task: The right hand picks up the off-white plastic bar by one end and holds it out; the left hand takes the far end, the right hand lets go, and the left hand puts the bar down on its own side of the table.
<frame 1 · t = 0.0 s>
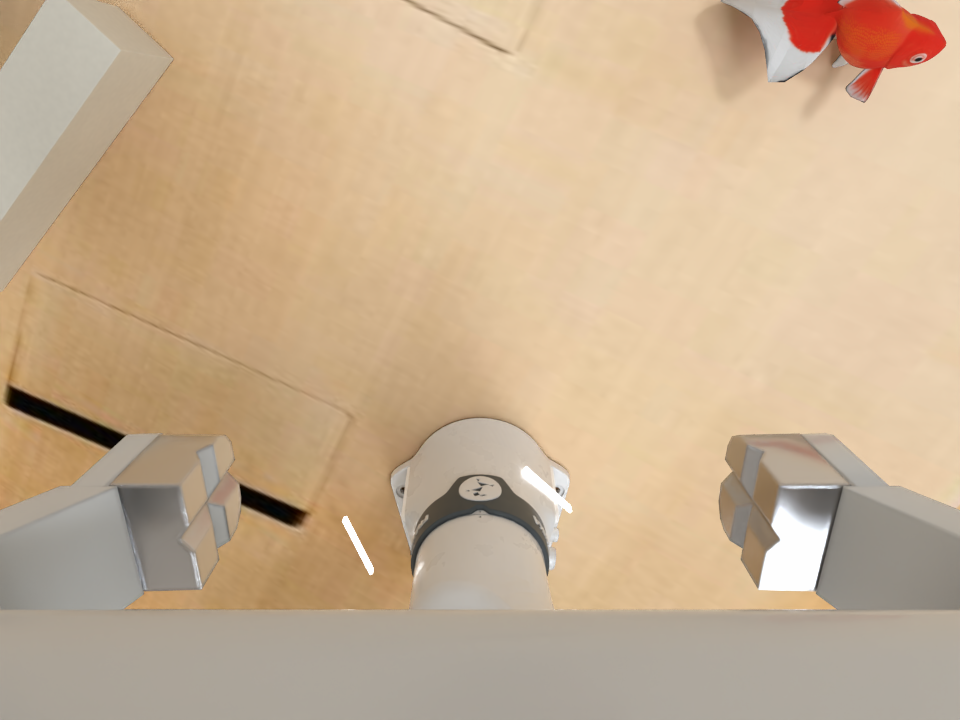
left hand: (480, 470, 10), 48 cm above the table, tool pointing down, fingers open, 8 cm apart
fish: (800, 32, 51), on the table
bar: (55, 160, 54), on the table
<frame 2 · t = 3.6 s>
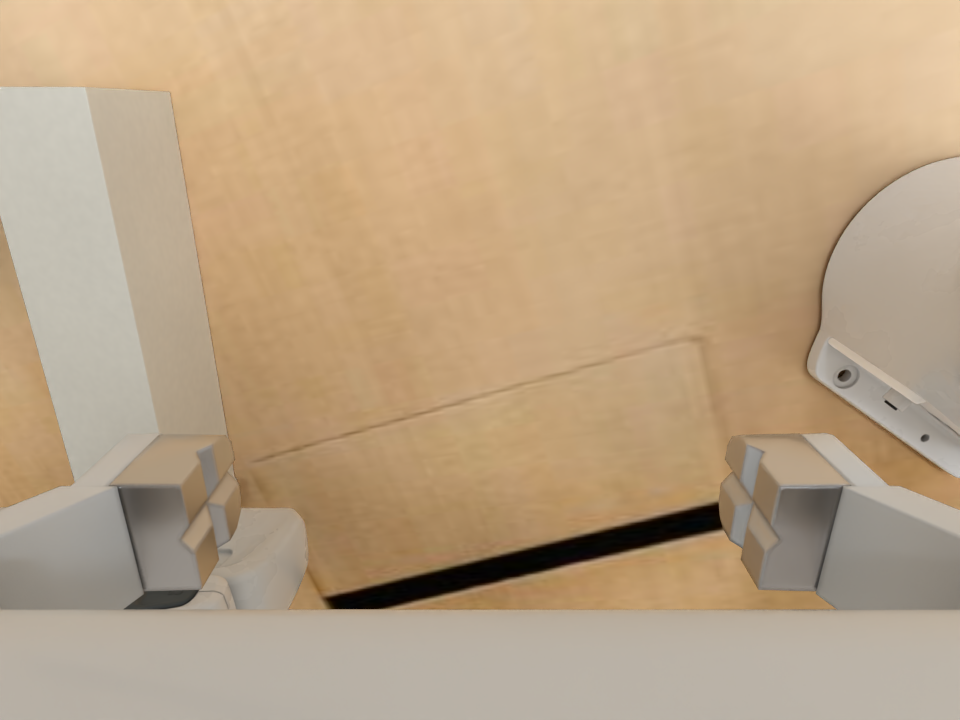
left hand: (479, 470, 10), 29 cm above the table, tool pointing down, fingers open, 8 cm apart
bar: (168, 326, 40), on the table, touching right hand
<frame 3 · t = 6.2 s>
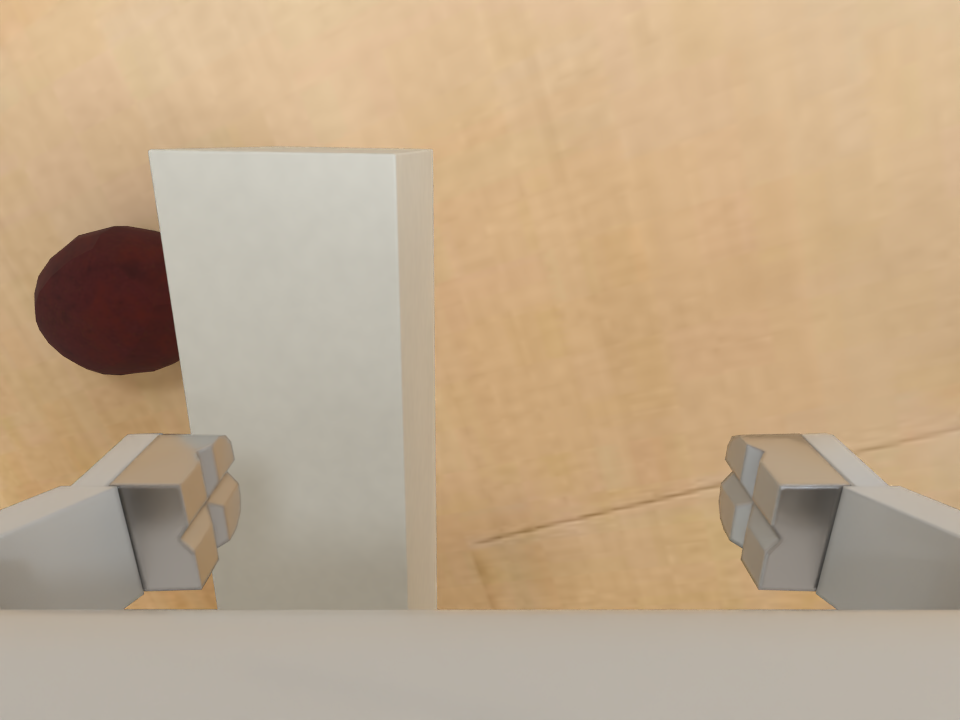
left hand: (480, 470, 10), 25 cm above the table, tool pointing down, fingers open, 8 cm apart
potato: (165, 285, 35), on the table
bar: (371, 505, 26), point 12 cm above the table, touching right hand
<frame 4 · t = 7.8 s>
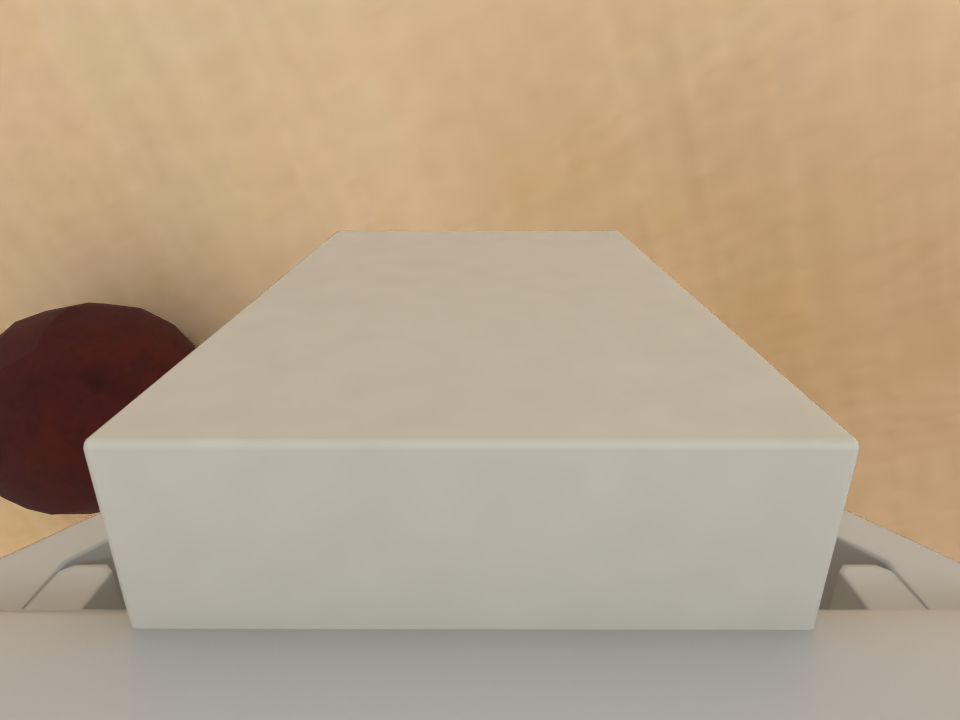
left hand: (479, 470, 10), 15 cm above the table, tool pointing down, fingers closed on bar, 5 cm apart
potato: (148, 367, 25), on the table
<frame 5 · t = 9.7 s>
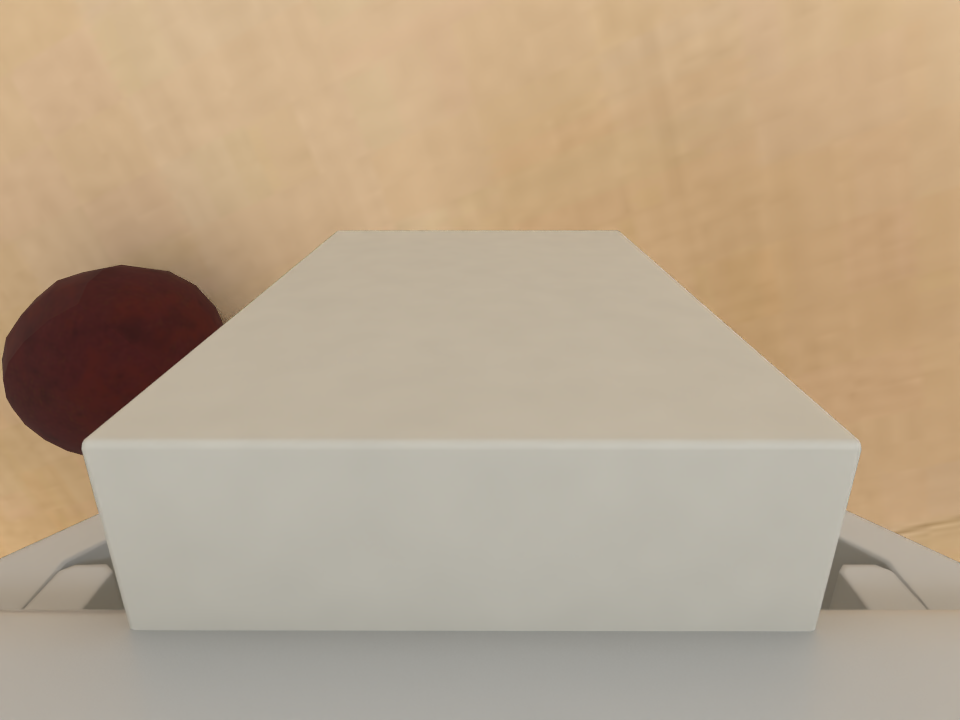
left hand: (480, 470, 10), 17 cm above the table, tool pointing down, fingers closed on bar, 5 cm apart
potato: (171, 329, 27), on the table
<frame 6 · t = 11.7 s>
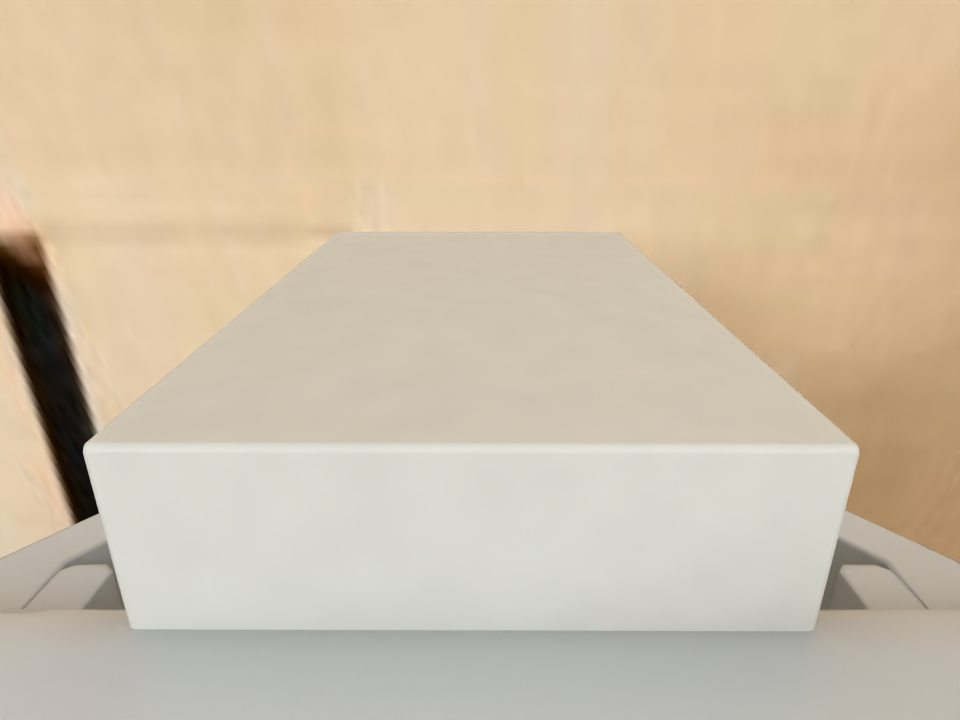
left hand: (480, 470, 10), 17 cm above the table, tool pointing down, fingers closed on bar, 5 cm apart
when the left hand's fingers open (4 cm above the table, at t = 13.4 s): bar drops 1 cm, on the table.
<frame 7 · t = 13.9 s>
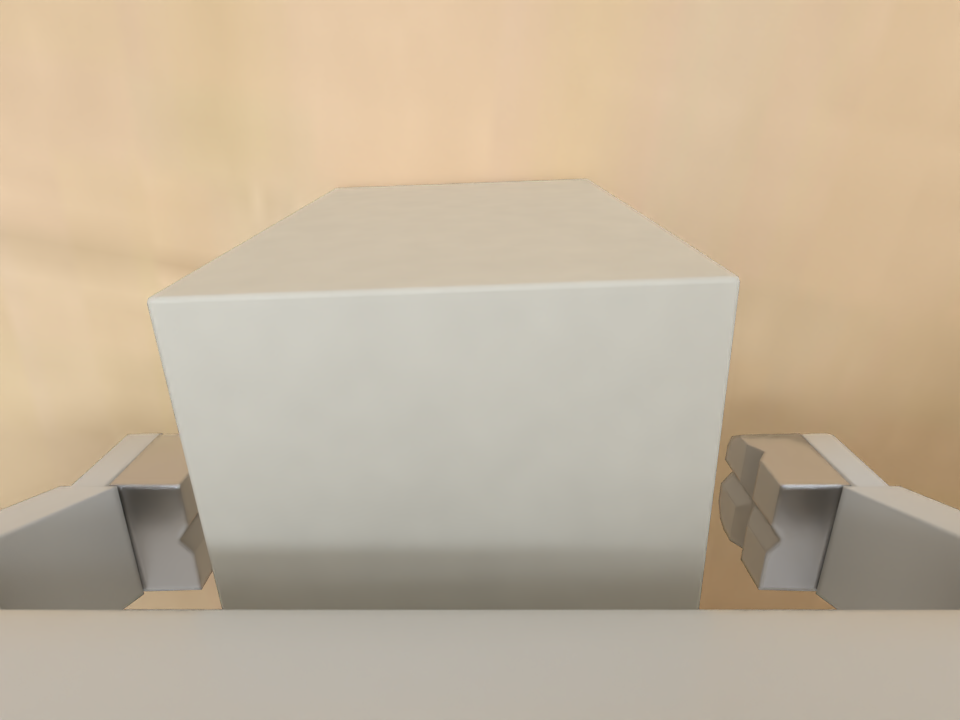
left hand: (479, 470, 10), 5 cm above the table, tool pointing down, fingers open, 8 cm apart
bar: (483, 670, 18), on the table
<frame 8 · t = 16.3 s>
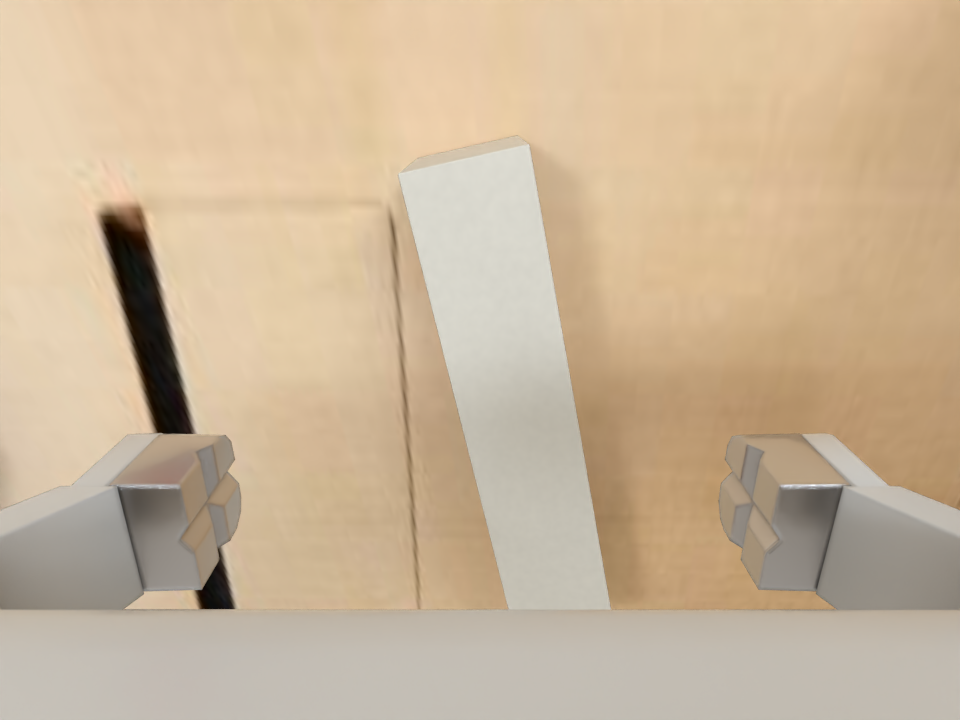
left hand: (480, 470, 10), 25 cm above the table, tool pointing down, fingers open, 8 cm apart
bar: (517, 386, 37), on the table
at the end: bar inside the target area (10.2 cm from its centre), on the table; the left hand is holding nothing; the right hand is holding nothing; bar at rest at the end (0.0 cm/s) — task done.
